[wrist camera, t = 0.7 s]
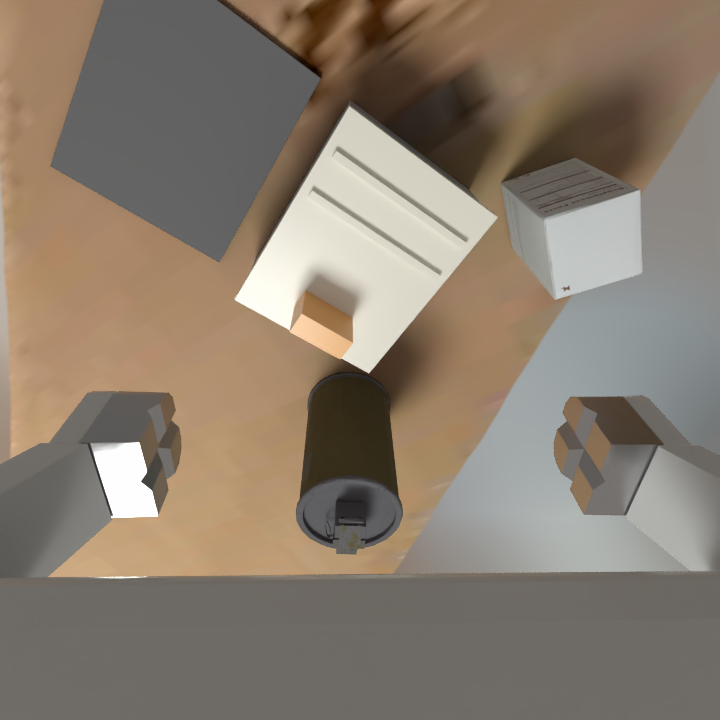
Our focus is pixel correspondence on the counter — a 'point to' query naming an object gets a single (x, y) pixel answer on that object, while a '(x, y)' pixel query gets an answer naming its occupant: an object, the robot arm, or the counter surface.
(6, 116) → the counter surface
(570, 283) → the supplement box
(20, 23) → the counter surface
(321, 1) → the counter surface
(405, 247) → the lid
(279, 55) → the mat
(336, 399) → the canister
